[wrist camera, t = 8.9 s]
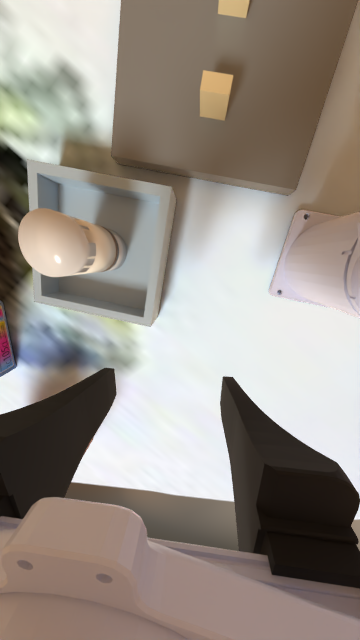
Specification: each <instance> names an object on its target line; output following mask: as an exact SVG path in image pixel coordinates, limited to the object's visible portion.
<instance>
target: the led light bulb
mask: <svg viewBox="0 0 360 640" xmlns="http://www.w3.org/2000/svg"><path fill="white" fill-rule="evenodd" d="M18 240H19V245H20V249H21V251H22V254H23V256H24V257H25V259H26V260H27V262H28V263H29V264H30V265H31V266H32V267H33V268H34V269H35V270H36V271H38V272H39V273H41V274H43V275H46V276H49V277H63V276H71V275H79V274H87V273H96V272H105V271H112V270H116V269H118V268H120V267H121V266H122V265H123V263H124V262H125V260H126V256H127V248H126V244H125V242H124V240H123V238H122V237H121V236H120V235H119V234H118V233H117V232H115V231H113V230H111V229H108V228H105V227H103V226H100V225H97V224H93V223H90V222H87V221H84V220H81V219H78V218H75V217H72V216H69V215H66V214H63V213H60V212H57V211H54V210H51V209H47V208H38V209H34V210H32V211H30V212H29V213H27V214H26V215H25V216H24V218H23V219H22V221H21V223H20V226H19V231H18Z"/></svg>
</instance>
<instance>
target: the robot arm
mask: <svg viewBox="0 0 360 640" xmlns="http://www.w3.org/2000/svg"><path fill="white" fill-rule="evenodd" d="M305 214H306V215H307V216H308V218H307V220H305V219H304V215H305ZM278 290H281V293H280V294H277V291H278ZM269 294H270V295H272V296H276V297H280V298H285V299H290V300H295V301H300V302H305V303H310V304H315V305H319V306H324V307H329V308H333V309H336V310H339V311H341V312H344V313H347V314H350V315H352V316H355V317H358V318H360V211H359V212H356V213H352V214H349V215H346V216H342V217H341V216H335V215H330V214H325V213H320V212H314V211H309V210H304V209H301V210H299V211H297V212H296V213H295V215H294V217H293V220H292V223H291V226H290V229H289V232H288V235H287V238H286V241H285V244H284V247H283V250H282V253H281V256H280V258H279V261H278V264H277V267H276V270H275V273H274V276H273V279H272V282H271V285H270V288H269ZM115 397H116V384H115V374H114V369H112V368H104V369H102V370H100V371H98V372H97V373H95V374H93V375H91V376H90V377H88V378H86V379H84V380H83V381H81V382H79V383H77V384H75V385H73V386H72V387H70V388H68V389H66V390H64V391H62V392H60V393H58V394H56V395H53V396H51V397H49V398H47V399H44V400H42V401H39V402H37V403H34V404H31V405H29V406H26V407H23V408H20V409H17V410H14V411H11V412H8V413H4V414H1V415H0V640H360V551H359V549H358V547H357V545H356V544H358V538H357V536H356V534H355V533H354V531H353V529H352V527H351V524H352V522H353V520H354V518H355V515H356V513H357V511H358V508H359V504H360V498H359V494H358V492H357V491H356V489H355V488H354V486H353V485H352V483H351V481H350V480H349V478H348V477H347V475H346V474H345V473H344V471H343V470H342V469H341V467H340V466H339V465H338V463H337V462H335V461H333V460H331V459H330V458H328V457H326V456H324V455H322V454H321V453H319V452H317V451H315V450H314V449H312V448H310V447H309V446H307V445H306V444H304V443H303V442H301V441H300V440H298V439H297V438H295V437H294V436H292V435H291V434H289V433H288V432H287V431H285V430H284V429H283V428H281V427H280V426H279V425H278V424H276V423H275V422H274V421H273V420H272V419H270V418H269V417H268V416H267V415H266V414H265V413H264V412H263V411H262V410H261V409H260V408H259V407H258V406H257V405H256V404H255V403H254V402H253V401H252V400H251V399H250V398H249V397H248V395H247V394H246V393H245V392H244V391H243V390H242V388H241V387H240V386H239V384H238V383H237V382H236V381H235V379H234V378H233V377H223V381H222V391H221V401H220V406H221V417H222V423H223V428H224V433H225V438H226V443H227V448H228V453H229V458H230V464H231V473H232V482H233V492H234V502H235V512H236V522H237V533H238V546H239V551H234V550H226V549H220V548H213V547H206V546H199V545H193V544H186V543H180V542H172V541H166V540H160V539H153V538H147V530H146V527H145V525H144V523H143V521H142V519H141V517H140V516H138V515H137V514H136V513H135V512H133V511H132V510H131V509H128V508H124V507H121V506H118V505H111V504H104V503H96V502H88V501H82V500H74V499H67V498H64V497H65V494H66V492H67V489H68V487H69V485H70V483H71V481H72V478H73V476H74V474H75V472H76V470H77V467H78V465H79V463H80V461H81V459H82V457H83V455H84V453H85V451H86V449H87V447H88V445H89V443H90V441H91V440H92V438H93V436H94V435H95V433H96V431H97V430H98V428H99V427H100V425H101V423H102V422H103V420H104V418H105V417H106V415H107V413H108V412H109V410H110V408H111V406H112V404H113V401H114V399H115Z"/></svg>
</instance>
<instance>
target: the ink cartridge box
mask: <svg viewBox="0 0 360 640" xmlns="http://www.w3.org/2000/svg"><path fill="white" fill-rule="evenodd" d="M15 368H16V364H15V360H14V355H13V350H12V345H11V340H10V335H9V330H8V325H7V320H6V315H5V310H4V305H3V302H2V301H1V300H0V377H1V376H3V375H5V374H6V373H8V372H9V371H11V370H13V369H15Z"/></svg>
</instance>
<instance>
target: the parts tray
mask: <svg viewBox="0 0 360 640" xmlns="http://www.w3.org/2000/svg"><path fill="white" fill-rule="evenodd" d="M27 169H28V189H29V209H30V211H32V210H34V209H38V208H47V209H51V210H54V211H57V212H60V213H63V214H66V215H69V216H72V217H75V218H78V219H81V220H84V221H87V222H90V223H93V224H97V225H100V226H103V227H105V228H108V229H111V230H113V231H115V232H117V233H118V234H119V235H120V236H121V237H122V238H123V240H124V242H125V244H126V248H127V256H126V260H125V262H124V263H123V265H122V266H121V267H120V268H118V269H116V270H112V271H105V272H96V273H87V274H79V275H71V276H63V277H49V276H46V275H43V274H41V273H39V272H38V271H36V270H35V269H34V268H33V267H32V269H33V289H34V302H37V303H42V304H47V305H51V306H56V307H61V308H65V309H70V310H75V311H79V312H84V313H88V314H93V315H98V316H102V317H107V318H112V319H116V320H121V321H126V322H130V323H135V324H139V325H144V326H149V327H151V325H152V324H153V323H154V321H155V320H156V319H157V317H158V312H159V306H160V300H161V294H162V288H163V281H164V275H165V269H166V263H167V257H168V251H169V244H170V238H171V232H172V226H173V220H174V214H175V207H176V201H177V199H176V197H175V194H174V191H173V189H172V187H171V186H165V185H160V184H155V183H149V182H144V181H139V180H134V179H128V178H123V177H118V176H112V175H107V174H102V173H97V172H91V171H86V170H81V169H75V168H70V167H65V166H60V165H54V164H49V163H44V162H38V161H33V160H28V159H27Z"/></svg>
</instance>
